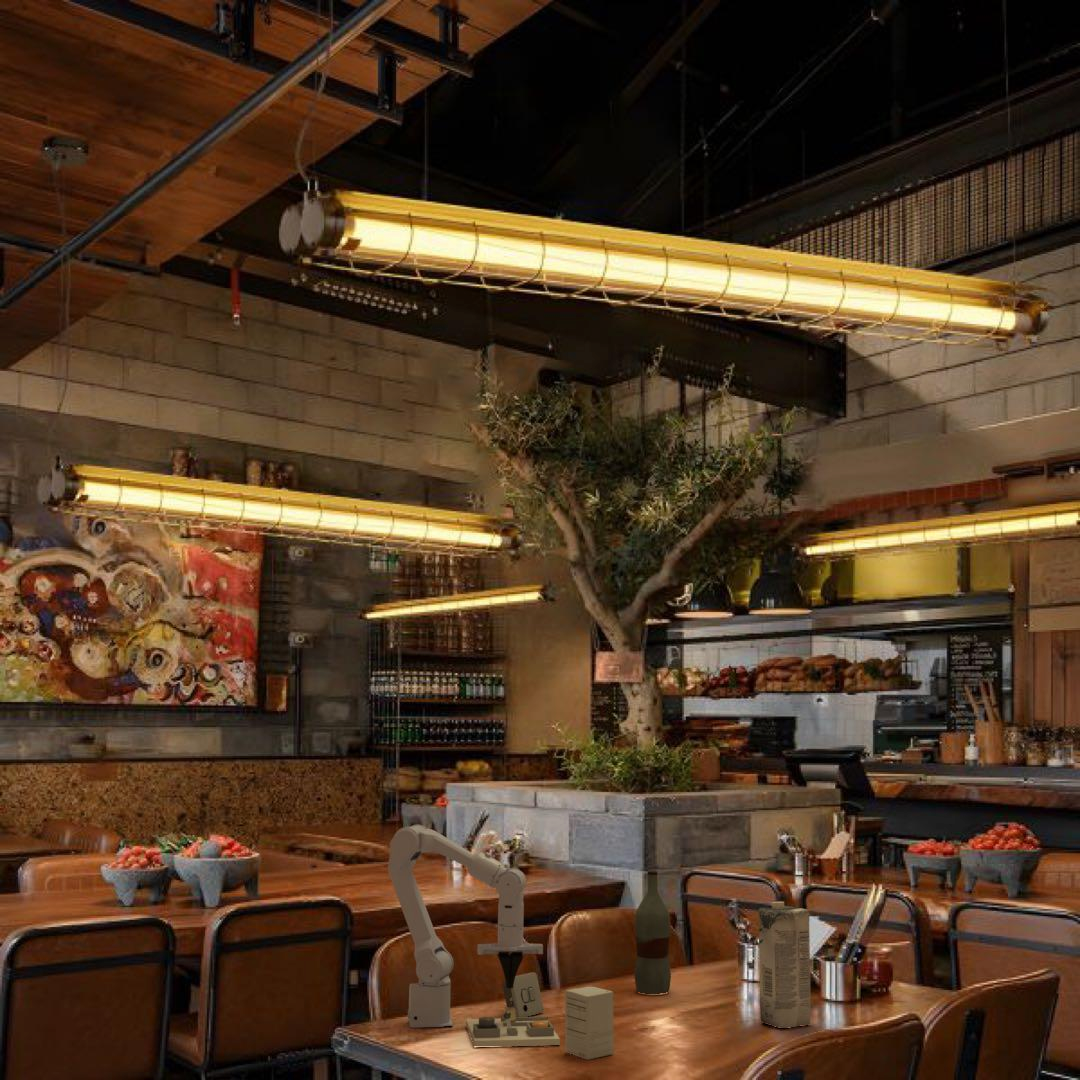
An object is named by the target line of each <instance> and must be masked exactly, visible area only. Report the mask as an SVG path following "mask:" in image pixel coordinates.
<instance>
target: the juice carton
mask: <svg viewBox="0 0 1080 1080" xmlns="http://www.w3.org/2000/svg"><path fill="white" fill-rule="evenodd" d="M810 913H811V912H810V910H809V909H806V908H802V907H797V906H791V905H785V901H772V902H771V907H760V908H758V933H759V934H758V938H759V940H758V941H759V942H758V943H759V944H758V946H759V949H758V950H759V955H758V956H759V957H758V958H759V1012H760V1021H762V1022H764V1023H768V1024H771V1025H773V1026H776V1027H780V1028H788V1027H795V1026H800V1025H806V1024H811V1011H812V1009H811V1005H812V1004H811V957H810V956H811V953H810V952H811V950H810V949H811V945H810ZM762 1022H761V1023H762ZM795 1028H796V1027H795Z"/></svg>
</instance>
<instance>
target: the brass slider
mask: <svg viewBox="0 0 1080 1080" xmlns="http://www.w3.org/2000/svg"><path fill="white" fill-rule="evenodd" d="M505 1012H510V1014H511V1017H510V1022H515V1017H516V1010H515V1008H514V1007H507V1006H506V1007H504V1013H505ZM505 1022H506V1019H505Z"/></svg>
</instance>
